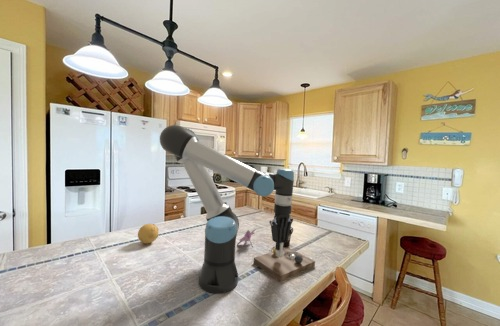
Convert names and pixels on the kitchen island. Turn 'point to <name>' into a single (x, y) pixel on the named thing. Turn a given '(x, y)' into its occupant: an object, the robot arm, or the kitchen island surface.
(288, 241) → the coffee mug
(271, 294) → the kitchen island surface
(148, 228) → the stress ball
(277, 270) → the board
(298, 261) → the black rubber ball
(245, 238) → the lily
